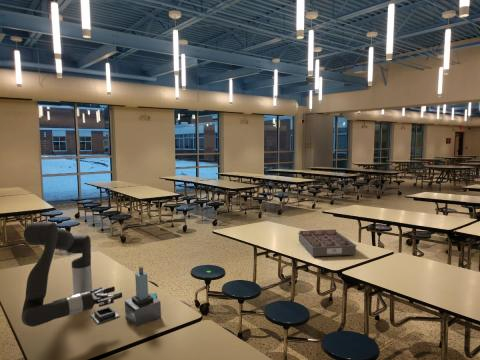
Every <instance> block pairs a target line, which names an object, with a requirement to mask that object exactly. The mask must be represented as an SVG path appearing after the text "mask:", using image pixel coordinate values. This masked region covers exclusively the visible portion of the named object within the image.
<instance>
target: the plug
mask: <svg viewBox="0 0 480 360" xmlns="http://www.w3.org/2000/svg"><path fill="white" fill-rule="evenodd" d="M134 275H135V293H136V295H135V296H136V299H137V300H139V301H141V300H144V299H147V298H148V293H149V283H148V279H149V278H148V273H147V272H146V271H144V266H139V267H138V272H135V273H134Z"/></svg>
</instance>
